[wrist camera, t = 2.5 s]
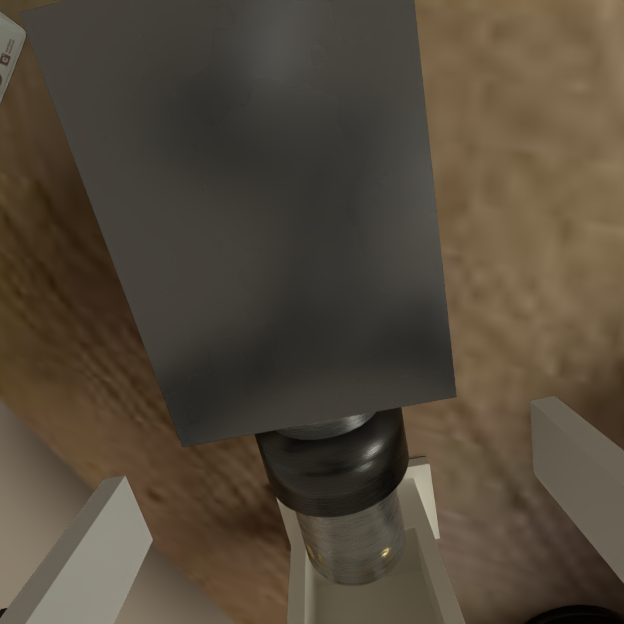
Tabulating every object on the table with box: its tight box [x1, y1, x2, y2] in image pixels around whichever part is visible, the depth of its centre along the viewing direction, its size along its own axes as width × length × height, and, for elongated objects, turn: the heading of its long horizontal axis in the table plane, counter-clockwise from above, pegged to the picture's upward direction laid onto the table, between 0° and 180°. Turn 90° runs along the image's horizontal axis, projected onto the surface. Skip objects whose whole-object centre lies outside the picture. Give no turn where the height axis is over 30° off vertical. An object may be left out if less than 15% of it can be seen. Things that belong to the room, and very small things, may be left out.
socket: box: [277, 457, 466, 624], centre depth 18 cm, size 6×9×10 cm, turn 102°
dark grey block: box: [19, 0, 456, 447], centre depth 13 cm, size 11×9×10 cm
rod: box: [255, 407, 409, 586], centre depth 13 cm, size 16×5×5 cm, turn 12°
